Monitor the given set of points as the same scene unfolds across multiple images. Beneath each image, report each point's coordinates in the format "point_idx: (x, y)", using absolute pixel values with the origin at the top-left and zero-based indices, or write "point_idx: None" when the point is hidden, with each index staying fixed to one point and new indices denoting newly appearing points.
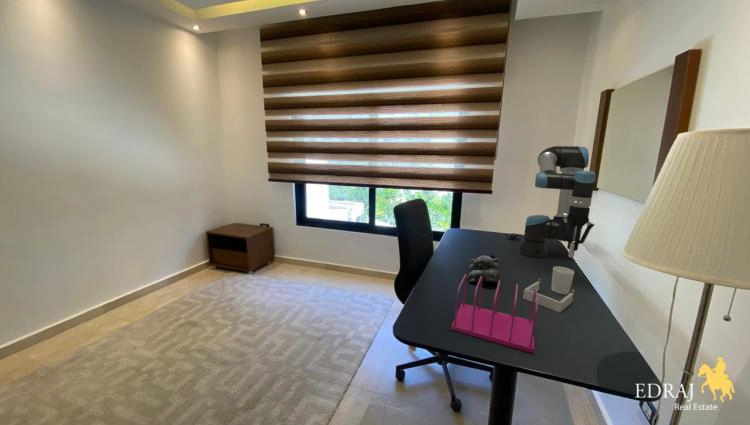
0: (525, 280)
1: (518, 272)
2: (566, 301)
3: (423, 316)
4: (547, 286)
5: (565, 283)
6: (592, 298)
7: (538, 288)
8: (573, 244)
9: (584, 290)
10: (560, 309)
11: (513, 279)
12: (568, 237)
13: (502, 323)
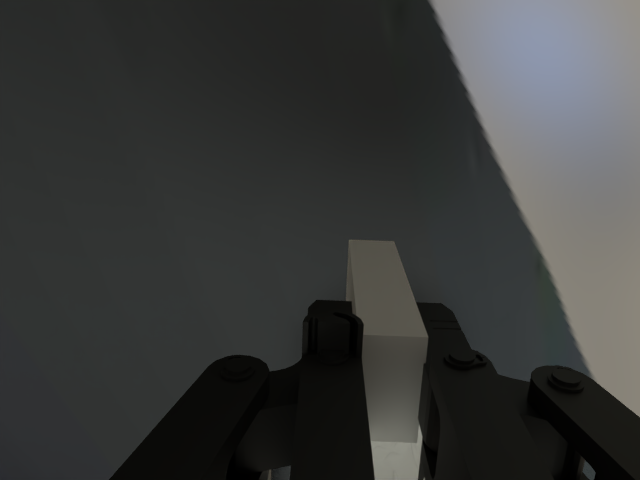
0: (144, 376)
1: (30, 279)
2: None
3: None
4: (282, 357)
5: (409, 464)
6: (546, 315)
7: (269, 472)
8: (405, 434)
9: (484, 223)
10: None
11: (89, 420)
12: (260, 395)
13: None
